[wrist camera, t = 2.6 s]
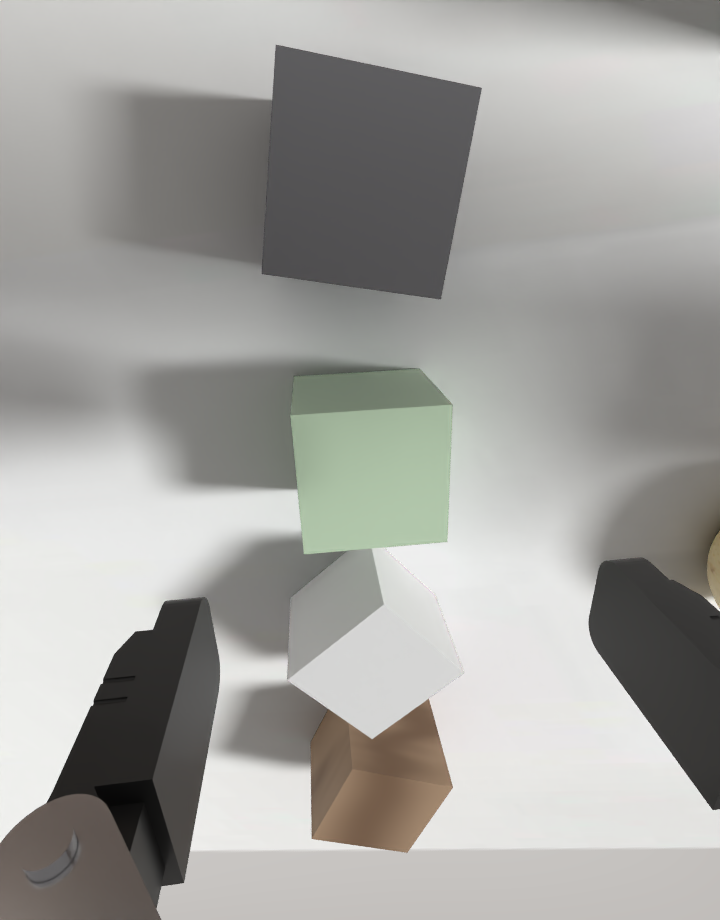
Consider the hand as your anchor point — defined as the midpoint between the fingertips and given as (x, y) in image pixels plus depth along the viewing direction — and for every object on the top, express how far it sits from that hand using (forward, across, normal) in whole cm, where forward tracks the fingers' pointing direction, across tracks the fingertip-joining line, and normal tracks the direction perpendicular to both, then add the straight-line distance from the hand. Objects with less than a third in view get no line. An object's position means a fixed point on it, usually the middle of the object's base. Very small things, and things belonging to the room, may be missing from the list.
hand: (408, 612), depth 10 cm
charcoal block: (+12, 0, -8) cm, 14 cm away
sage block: (+12, 0, 0) cm, 12 cm away
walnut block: (+12, 0, +17) cm, 21 cm away
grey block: (+12, 0, +9) cm, 14 cm away
